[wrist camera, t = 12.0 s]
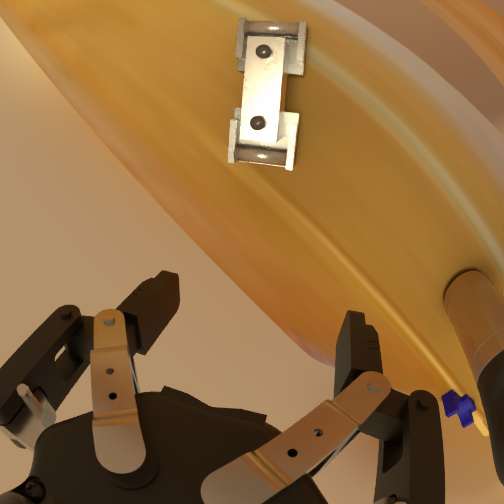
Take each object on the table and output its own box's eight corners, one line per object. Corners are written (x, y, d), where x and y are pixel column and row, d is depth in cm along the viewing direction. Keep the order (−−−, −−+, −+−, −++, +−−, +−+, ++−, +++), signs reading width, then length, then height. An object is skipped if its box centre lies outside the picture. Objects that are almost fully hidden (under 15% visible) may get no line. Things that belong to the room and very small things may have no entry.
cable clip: (473, 400, 51) (478, 418, 45) (459, 409, 53) (464, 427, 48) (456, 385, 49) (462, 405, 44) (441, 395, 51) (445, 415, 46)
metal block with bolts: (289, 47, 29) (284, 35, 24) (281, 139, 35) (274, 143, 29) (257, 45, 30) (245, 33, 24) (249, 135, 35) (237, 139, 30)
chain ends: (307, 29, 29) (306, 19, 25) (294, 164, 38) (291, 171, 34) (246, 26, 30) (237, 17, 27) (236, 157, 39) (226, 163, 35)
